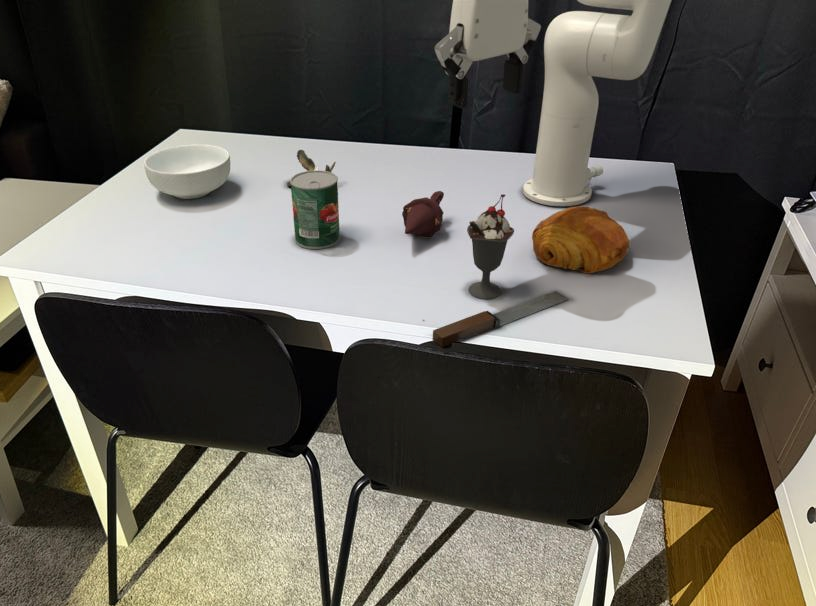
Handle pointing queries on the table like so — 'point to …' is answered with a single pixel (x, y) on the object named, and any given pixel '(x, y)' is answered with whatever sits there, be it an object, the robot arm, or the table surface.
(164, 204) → the table surface
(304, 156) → the eagle figurine
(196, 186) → the cereal bowl
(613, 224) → the croissant
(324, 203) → the canned tomato
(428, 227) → the icecream
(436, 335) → the knife
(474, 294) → the sundae
